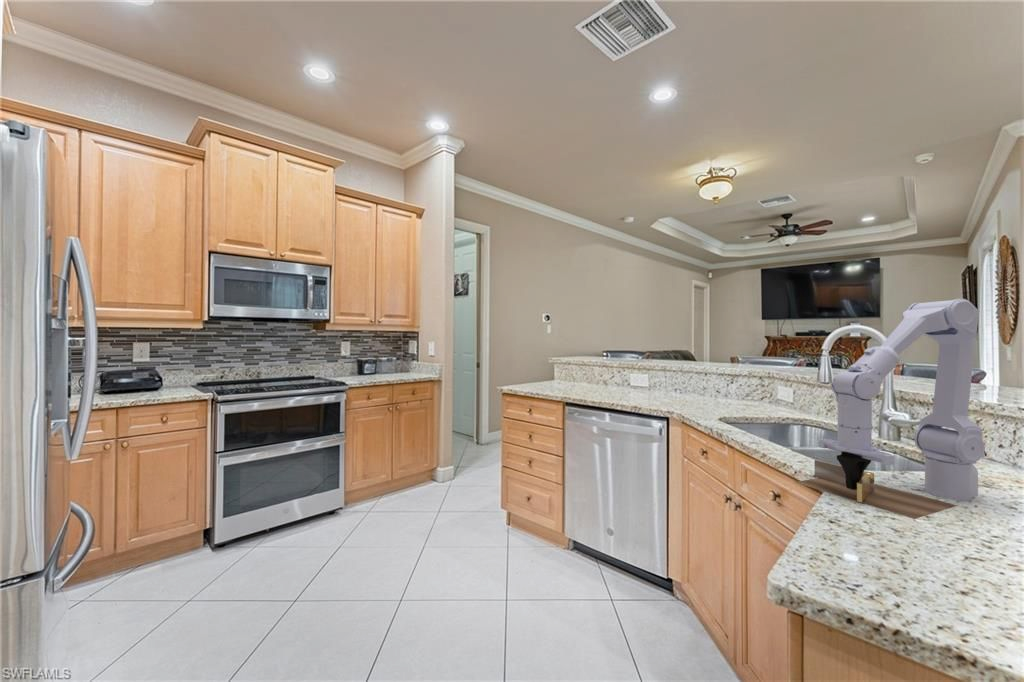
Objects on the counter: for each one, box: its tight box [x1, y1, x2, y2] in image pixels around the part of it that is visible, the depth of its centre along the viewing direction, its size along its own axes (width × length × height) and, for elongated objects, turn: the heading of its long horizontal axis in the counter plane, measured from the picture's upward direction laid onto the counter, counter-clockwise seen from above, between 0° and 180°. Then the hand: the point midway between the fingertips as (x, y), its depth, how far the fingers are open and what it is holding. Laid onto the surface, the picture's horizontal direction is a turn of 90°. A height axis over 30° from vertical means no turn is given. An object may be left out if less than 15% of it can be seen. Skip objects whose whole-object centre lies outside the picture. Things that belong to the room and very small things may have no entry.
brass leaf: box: [856, 471, 875, 503], centre depth 90 cm, size 12×2×4 cm, turn 131°
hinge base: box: [794, 459, 958, 520], centre depth 92 cm, size 17×23×5 cm
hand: (853, 488), depth 90 cm, fingers closed, pressing on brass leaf
